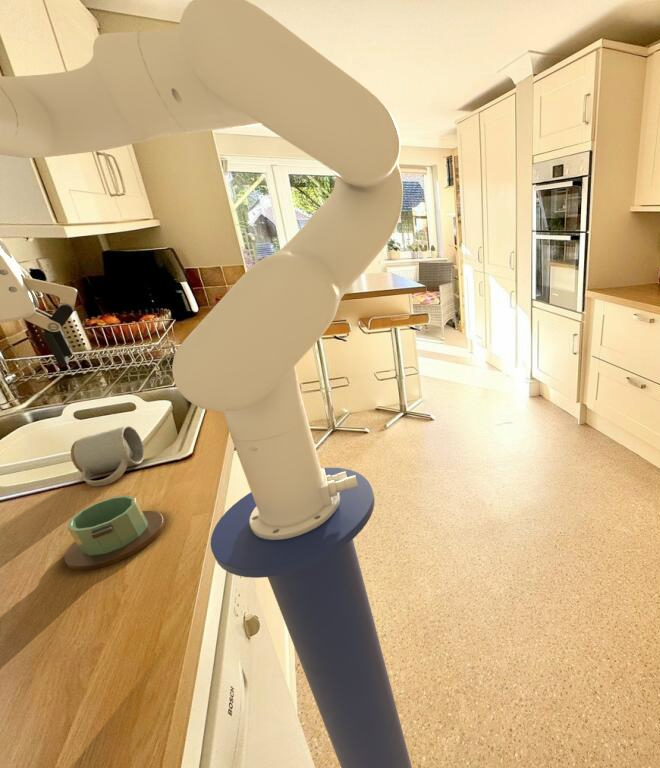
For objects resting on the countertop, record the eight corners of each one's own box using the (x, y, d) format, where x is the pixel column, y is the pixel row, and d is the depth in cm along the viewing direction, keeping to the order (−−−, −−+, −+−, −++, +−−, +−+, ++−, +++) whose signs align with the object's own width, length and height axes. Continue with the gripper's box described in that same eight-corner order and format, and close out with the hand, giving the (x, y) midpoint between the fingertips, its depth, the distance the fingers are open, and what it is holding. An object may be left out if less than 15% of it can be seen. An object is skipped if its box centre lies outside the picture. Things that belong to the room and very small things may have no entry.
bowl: (85, 534, 61) (71, 510, 60) (147, 512, 65) (135, 489, 64) (78, 568, 55) (62, 543, 54) (147, 541, 59) (134, 517, 58)
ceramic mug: (96, 463, 81) (77, 429, 77) (148, 451, 84) (132, 418, 81) (74, 495, 72) (52, 458, 69) (133, 480, 75) (115, 444, 72)
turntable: (171, 506, 68) (169, 502, 68) (156, 550, 59) (153, 546, 59) (83, 530, 63) (81, 526, 63) (52, 583, 54) (49, 578, 54)
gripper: (40, 208, 48) (106, 348, 55) (-233, 217, 37) (-109, 389, 44) (33, 206, 43) (107, 361, 50) (-286, 217, 32) (-136, 411, 39)
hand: (5, 374), depth 47 cm, fingers open, 9 cm apart
